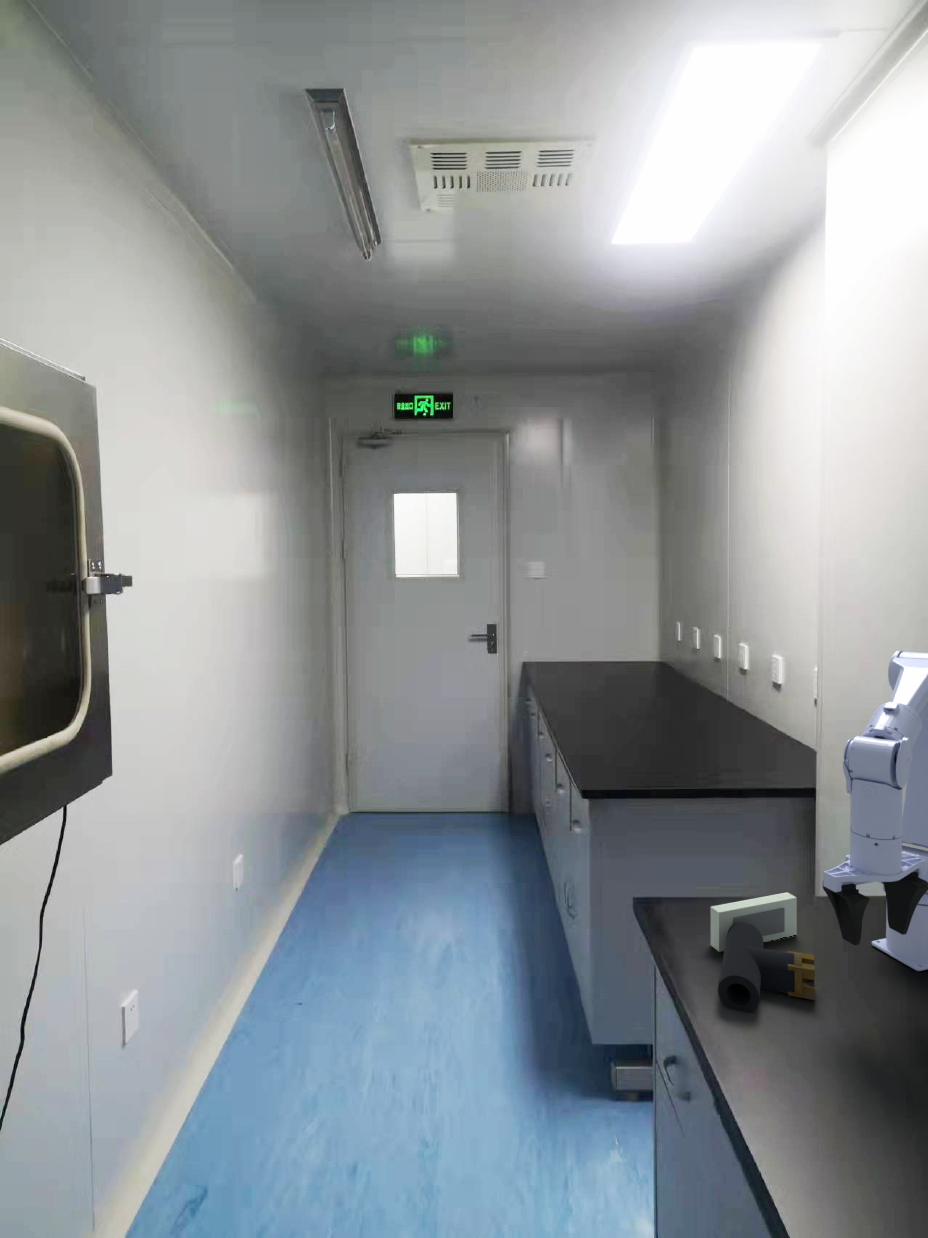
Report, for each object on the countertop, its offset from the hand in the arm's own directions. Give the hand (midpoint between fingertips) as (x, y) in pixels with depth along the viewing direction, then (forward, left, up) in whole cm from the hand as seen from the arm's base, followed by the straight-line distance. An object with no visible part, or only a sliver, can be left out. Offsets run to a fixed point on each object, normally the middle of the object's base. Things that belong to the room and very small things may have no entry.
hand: (874, 936), depth 93 cm
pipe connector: (+9, -9, -10) cm, 16 cm away
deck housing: (+3, -19, -9) cm, 21 cm away
